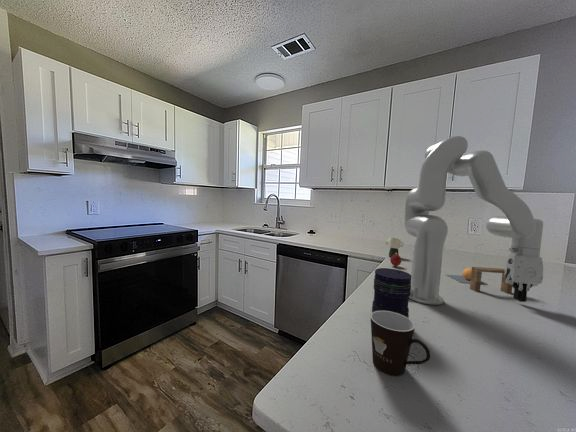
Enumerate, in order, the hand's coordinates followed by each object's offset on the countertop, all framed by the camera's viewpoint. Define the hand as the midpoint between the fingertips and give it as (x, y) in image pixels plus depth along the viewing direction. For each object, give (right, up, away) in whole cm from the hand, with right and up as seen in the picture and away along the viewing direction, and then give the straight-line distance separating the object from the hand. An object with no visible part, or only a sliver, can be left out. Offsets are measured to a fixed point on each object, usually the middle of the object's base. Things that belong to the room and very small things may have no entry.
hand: (519, 300), depth 87 cm
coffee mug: (-65, -1, -38) cm, 75 cm away
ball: (+3, +3, +27) cm, 27 cm away
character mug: (-15, +3, +71) cm, 72 cm away
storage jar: (-57, 0, -19) cm, 60 cm away
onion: (-25, +2, +46) cm, 53 cm away
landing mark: (+1, 0, +28) cm, 28 cm away
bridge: (+1, -1, +13) cm, 13 cm away
